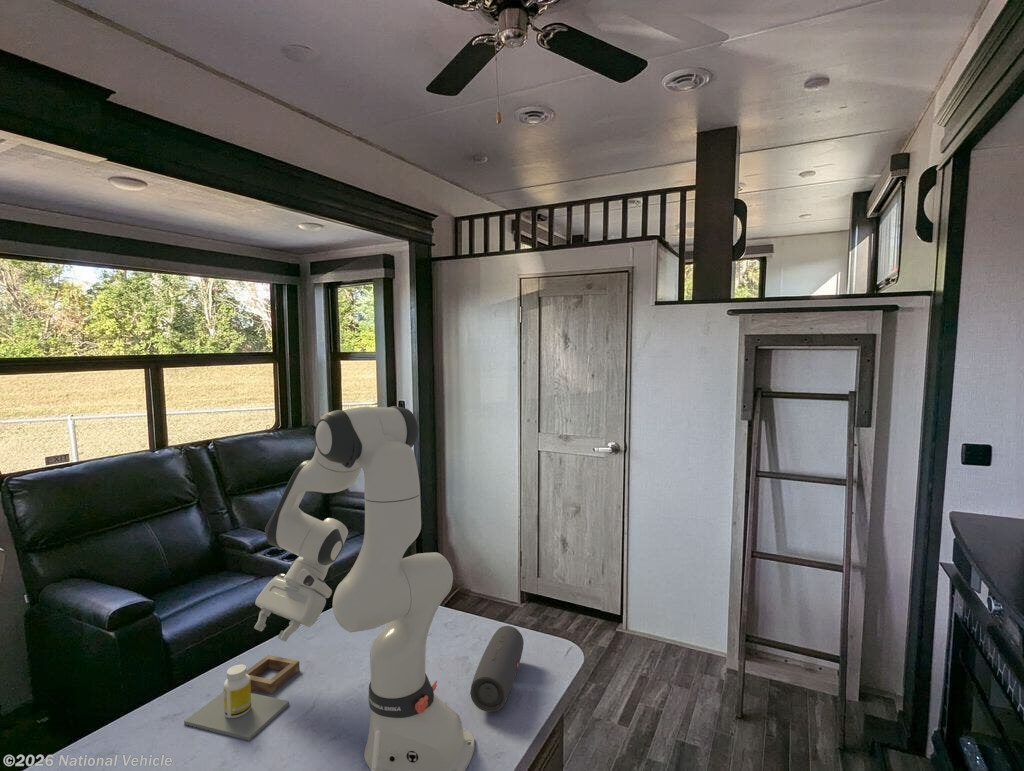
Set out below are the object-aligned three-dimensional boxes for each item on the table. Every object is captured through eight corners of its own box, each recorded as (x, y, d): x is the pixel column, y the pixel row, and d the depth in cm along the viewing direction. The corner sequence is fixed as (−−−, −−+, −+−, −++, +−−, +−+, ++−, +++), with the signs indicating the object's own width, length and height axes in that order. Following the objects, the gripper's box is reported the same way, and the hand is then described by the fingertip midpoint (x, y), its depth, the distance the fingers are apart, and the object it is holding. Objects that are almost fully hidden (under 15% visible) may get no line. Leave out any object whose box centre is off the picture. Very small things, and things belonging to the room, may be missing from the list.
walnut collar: (299, 670, 133) (299, 660, 133) (271, 694, 124) (270, 683, 124) (268, 664, 136) (268, 654, 136) (238, 686, 127) (237, 677, 127)
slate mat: (289, 704, 120) (289, 701, 120) (249, 740, 108) (249, 737, 108) (228, 691, 125) (228, 688, 125) (184, 724, 114) (184, 721, 114)
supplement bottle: (256, 705, 119) (255, 664, 118) (238, 721, 113) (236, 678, 113) (237, 701, 120) (236, 660, 120) (218, 717, 115) (217, 674, 114)
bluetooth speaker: (508, 720, 114) (508, 676, 113) (468, 715, 116) (467, 672, 115) (526, 661, 136) (525, 625, 136) (492, 658, 138) (491, 622, 137)
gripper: (270, 566, 134) (235, 619, 126) (321, 582, 124) (286, 641, 116) (286, 577, 138) (253, 628, 130) (337, 593, 128) (304, 650, 120)
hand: (269, 634), depth 123 cm, fingers open, 8 cm apart
